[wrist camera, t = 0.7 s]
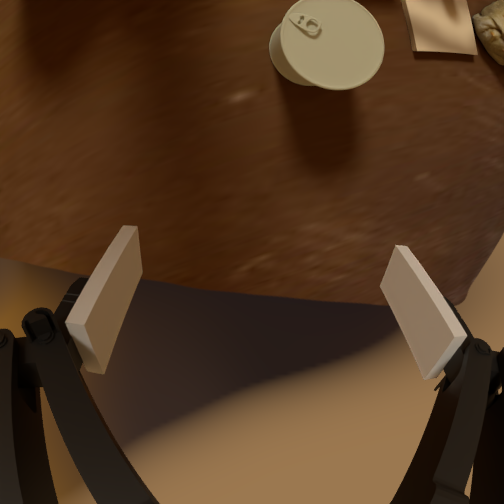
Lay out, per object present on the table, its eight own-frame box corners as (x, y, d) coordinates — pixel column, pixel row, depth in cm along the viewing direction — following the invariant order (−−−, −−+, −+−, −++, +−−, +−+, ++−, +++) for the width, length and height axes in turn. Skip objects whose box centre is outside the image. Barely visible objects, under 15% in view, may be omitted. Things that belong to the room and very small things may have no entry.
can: (290, 2, 27) (310, -27, 16) (358, 40, 29) (403, 31, 19) (255, 64, 31) (260, 57, 21) (324, 99, 33) (357, 111, 23)
